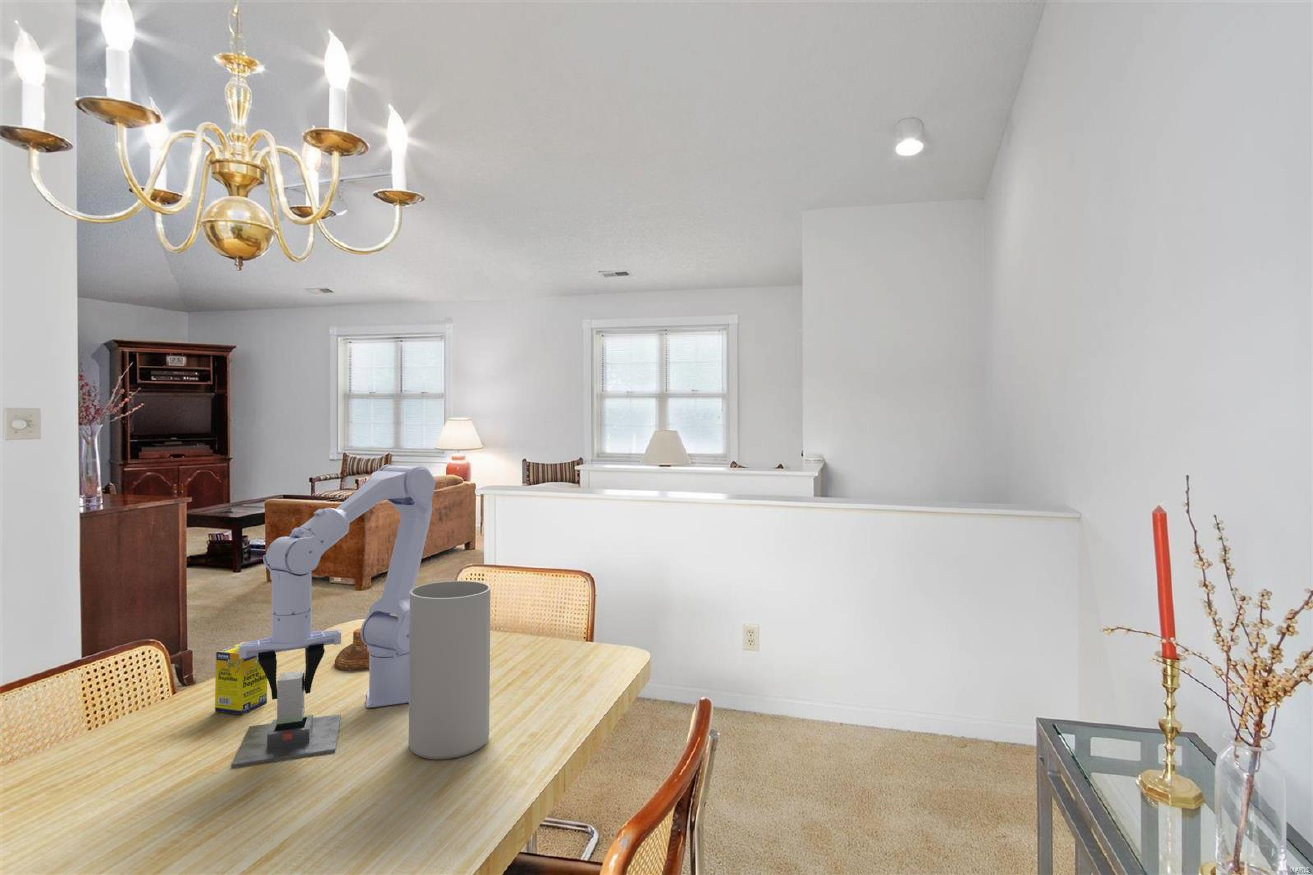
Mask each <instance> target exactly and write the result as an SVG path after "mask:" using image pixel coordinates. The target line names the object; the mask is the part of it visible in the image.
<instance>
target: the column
mask: <svg viewBox="0 0 1313 875" xmlns="http://www.w3.org/2000/svg"><path fill="white" fill-rule="evenodd" d="M304 682H305V670H302V671H293V672H283V673H280V674H279V677H277V680H276V683H277V699H276V708H277V709H276V719H277V724H283V723H290V722H298V721H302V719H303V716H305V711H306V710H305V690H304Z"/></svg>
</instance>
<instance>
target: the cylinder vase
mask: <svg viewBox="0 0 1313 875" xmlns="http://www.w3.org/2000/svg"><path fill="white" fill-rule="evenodd" d="M491 590H492V589H491V586H490V585H489V584H488V583H484V582H481V581H473V580H449V581H448V580H446V581H437V582H430V583H425V584H422V585H418V586H415V588H413V589H411V590H410V629H409V703H408V748H409V750H410V751H411V752H412V753H413V754H414V755H416V756H418V757H421V758H423V759H424V758H425V759H429V760H450V759H451V760H452V759H456V758H460V757H465V756H466V755H469V754H472V753H474V752H476V751H478V750H479V749H481V748H482V747H483V746H484V745H485V744H486V743H487V741H488V740H489V737H490V704H491V703H490V698H491V697H490V694H491V693H490V692H491V690H490V688H491V687H490V684H491V683H490V682H491V677H490V676H491V672H490V671H491Z"/></svg>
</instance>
